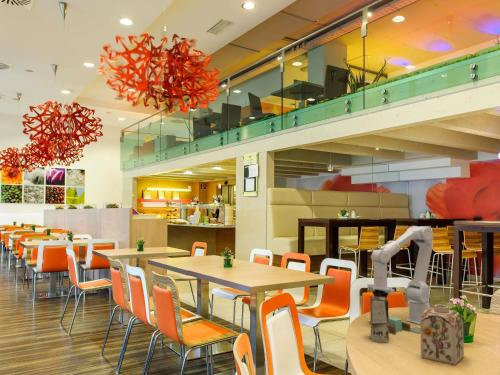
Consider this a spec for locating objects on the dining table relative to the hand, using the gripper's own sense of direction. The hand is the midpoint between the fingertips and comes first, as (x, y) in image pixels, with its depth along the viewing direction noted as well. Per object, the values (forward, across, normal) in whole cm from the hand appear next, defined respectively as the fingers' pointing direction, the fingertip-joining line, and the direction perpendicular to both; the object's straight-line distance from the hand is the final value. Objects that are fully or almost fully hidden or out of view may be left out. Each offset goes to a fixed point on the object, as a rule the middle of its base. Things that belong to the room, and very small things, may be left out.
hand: (380, 307), depth 191 cm
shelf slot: (+8, +8, 0) cm, 11 cm away
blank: (+8, +8, 0) cm, 11 cm away
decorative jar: (+8, +40, -10) cm, 42 cm away
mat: (+8, +12, +9) cm, 17 cm away
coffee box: (+8, +14, -14) cm, 21 cm away
